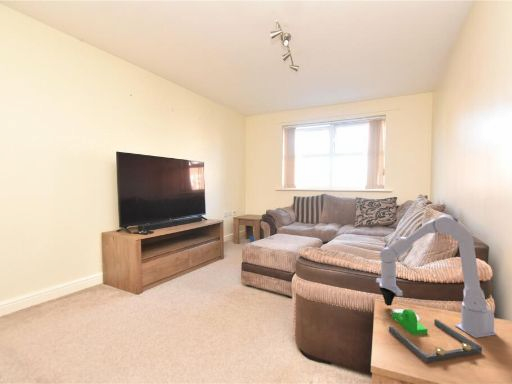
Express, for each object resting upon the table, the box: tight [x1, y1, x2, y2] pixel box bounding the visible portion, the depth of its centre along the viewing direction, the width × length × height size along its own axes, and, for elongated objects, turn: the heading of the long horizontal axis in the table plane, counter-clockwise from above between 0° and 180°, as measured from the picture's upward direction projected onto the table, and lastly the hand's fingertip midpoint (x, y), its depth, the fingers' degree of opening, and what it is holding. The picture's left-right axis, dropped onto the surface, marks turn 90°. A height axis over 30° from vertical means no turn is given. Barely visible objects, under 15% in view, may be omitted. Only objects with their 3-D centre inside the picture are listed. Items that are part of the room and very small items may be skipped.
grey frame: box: [388, 318, 483, 364], centre depth 90 cm, size 21×18×3 cm
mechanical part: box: [391, 308, 428, 336], centre depth 101 cm, size 12×6×8 cm, turn 5°
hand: (388, 304), depth 114 cm, fingers closed
